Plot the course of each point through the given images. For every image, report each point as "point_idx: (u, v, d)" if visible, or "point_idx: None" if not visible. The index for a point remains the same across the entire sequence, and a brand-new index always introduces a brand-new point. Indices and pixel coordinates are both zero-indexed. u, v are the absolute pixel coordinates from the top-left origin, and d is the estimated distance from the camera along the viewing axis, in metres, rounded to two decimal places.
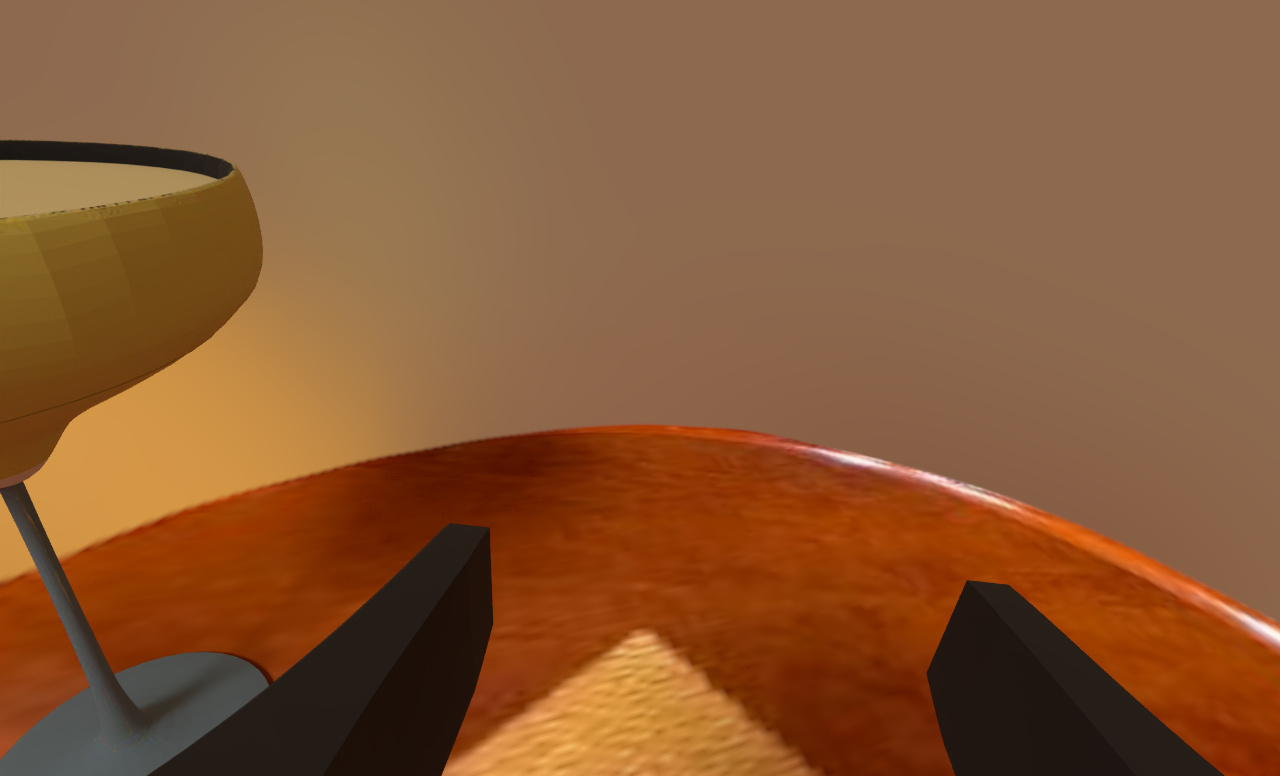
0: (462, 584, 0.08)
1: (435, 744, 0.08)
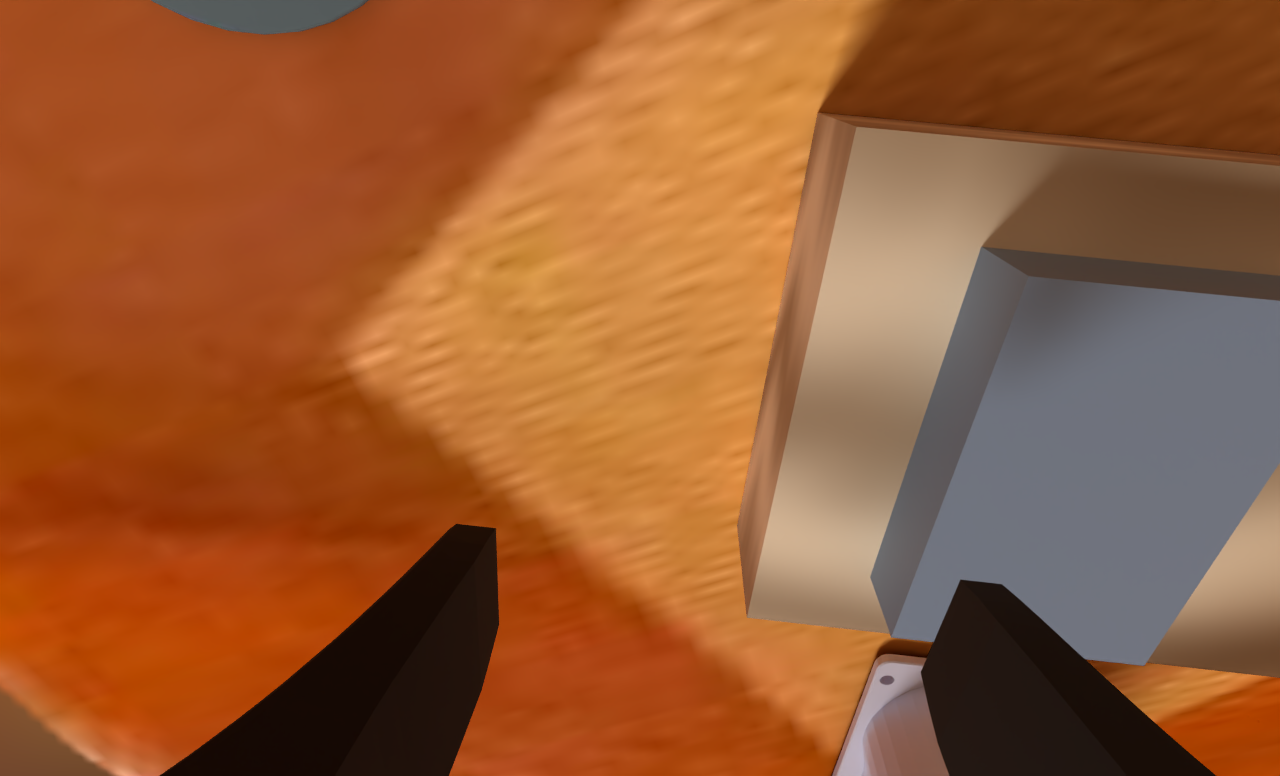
0: (470, 585, 0.08)
1: (442, 745, 0.08)
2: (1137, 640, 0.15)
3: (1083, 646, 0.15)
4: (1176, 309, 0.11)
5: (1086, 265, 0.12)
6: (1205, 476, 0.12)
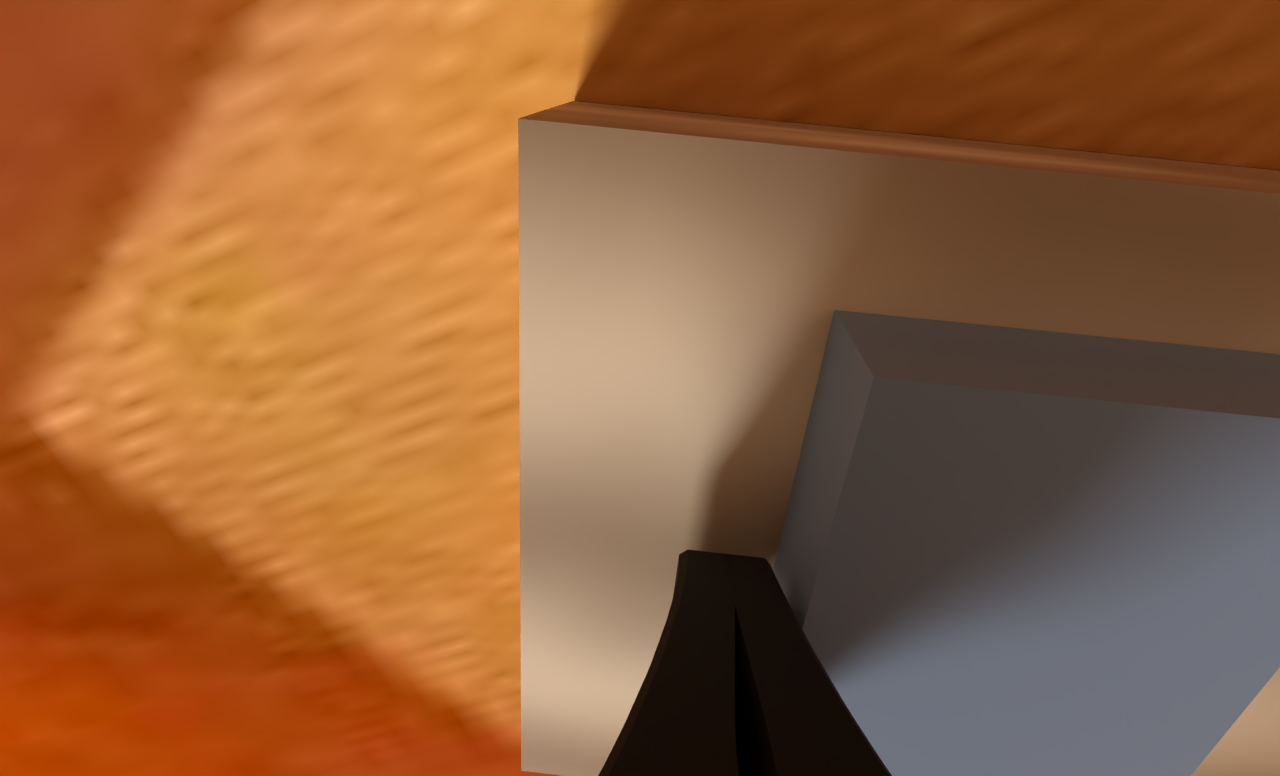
0: None
1: None
2: None
3: None
4: (1122, 430, 0.07)
5: (986, 345, 0.08)
6: (1177, 667, 0.08)
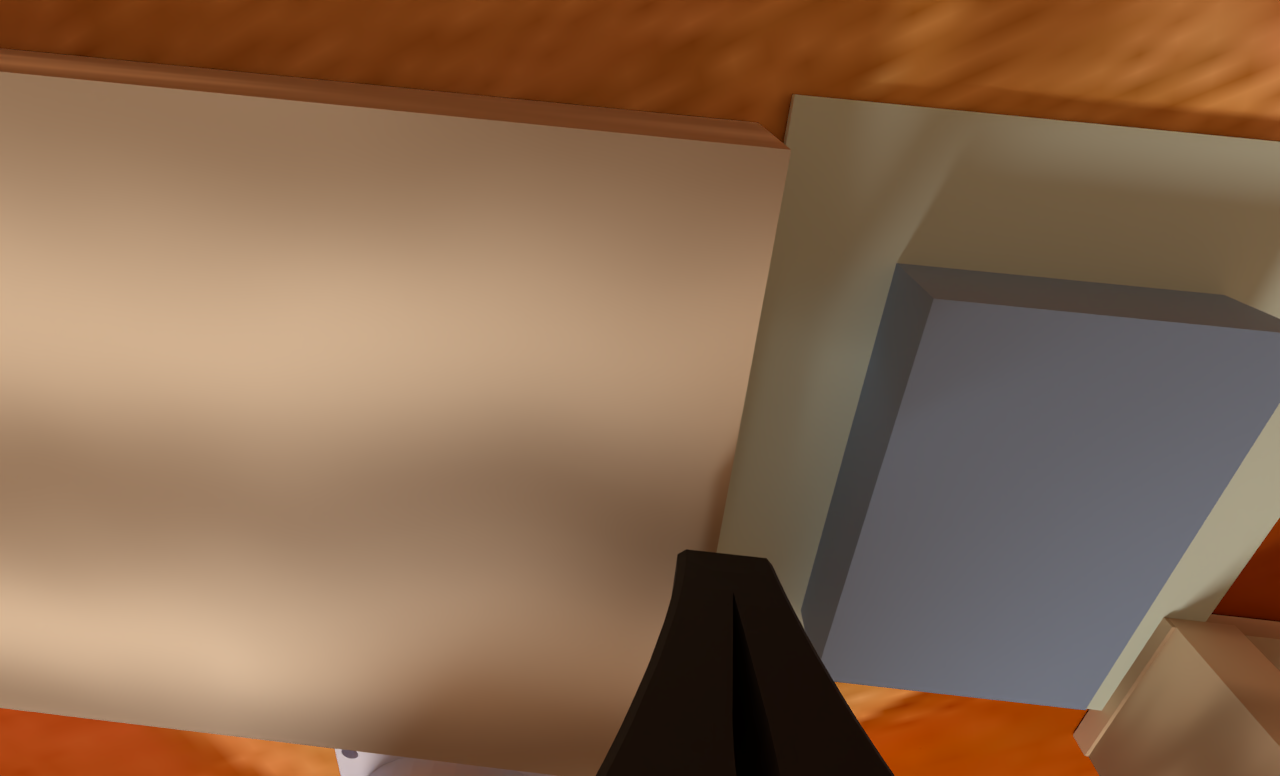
0: None
1: None
2: None
3: None
4: None
5: (1178, 309, 0.10)
6: None
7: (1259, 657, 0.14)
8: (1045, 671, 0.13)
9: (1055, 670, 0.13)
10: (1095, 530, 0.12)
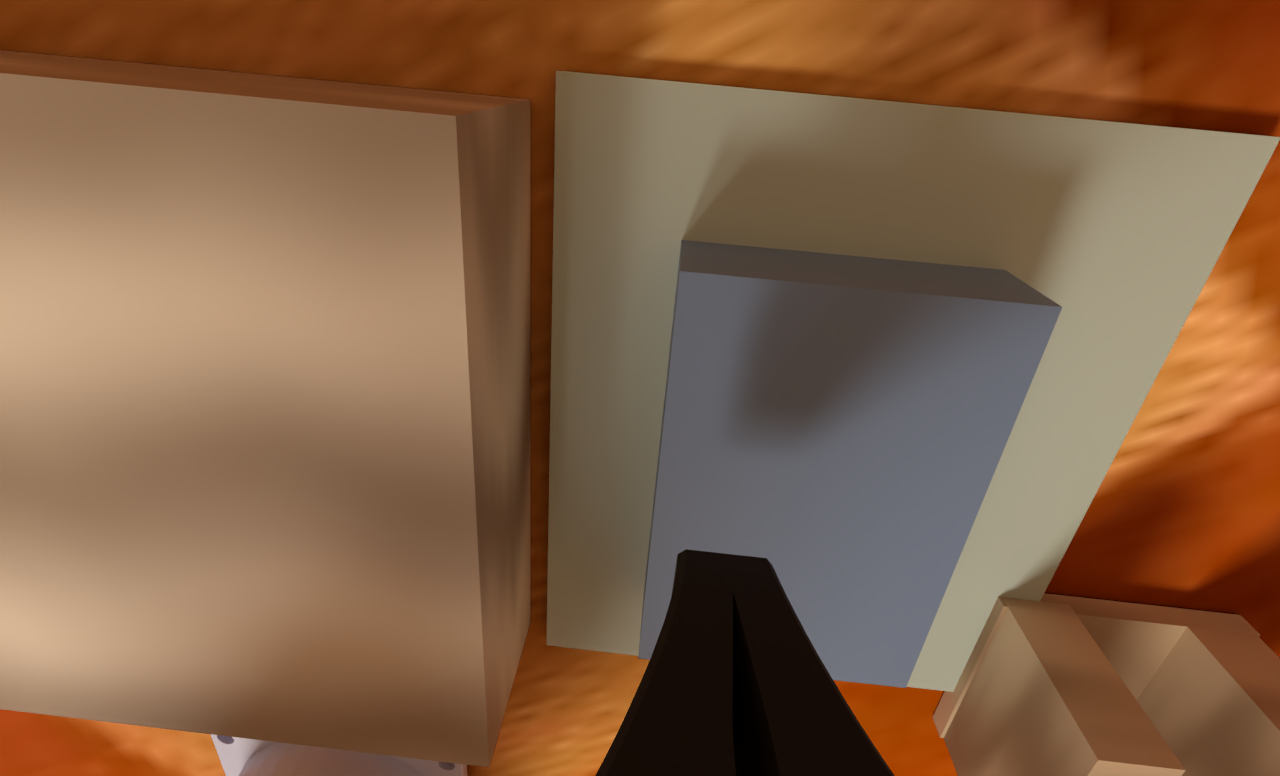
0: None
1: None
2: None
3: None
4: None
5: (936, 282, 0.10)
6: None
7: (1083, 635, 0.14)
8: (859, 648, 0.13)
9: (869, 647, 0.13)
10: (880, 505, 0.12)
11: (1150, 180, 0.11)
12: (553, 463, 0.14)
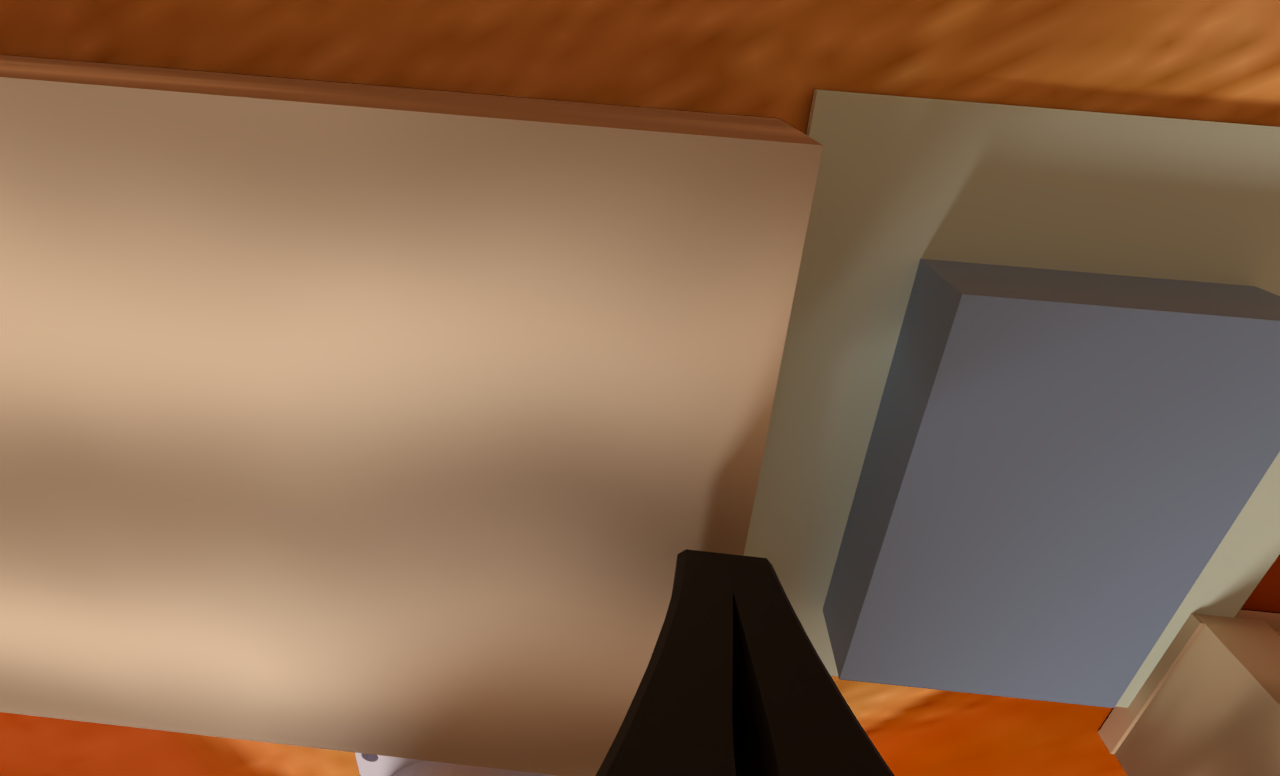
0: None
1: None
2: None
3: None
4: None
5: (1210, 301, 0.10)
6: None
7: None
8: (1073, 669, 0.13)
9: (1084, 668, 0.13)
10: (1125, 526, 0.12)
11: None
12: None
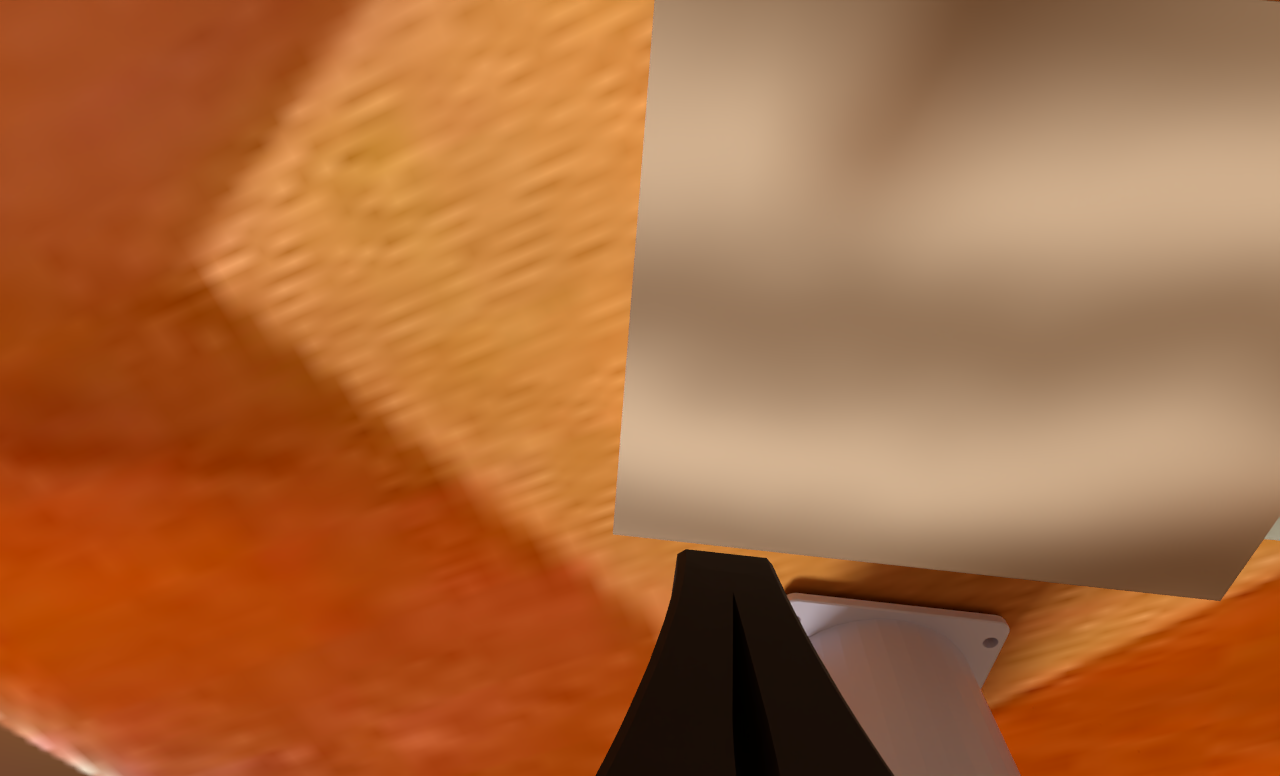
0: None
1: None
2: None
3: None
4: None
5: None
6: None
7: None
8: None
9: None
10: None
11: None
12: None
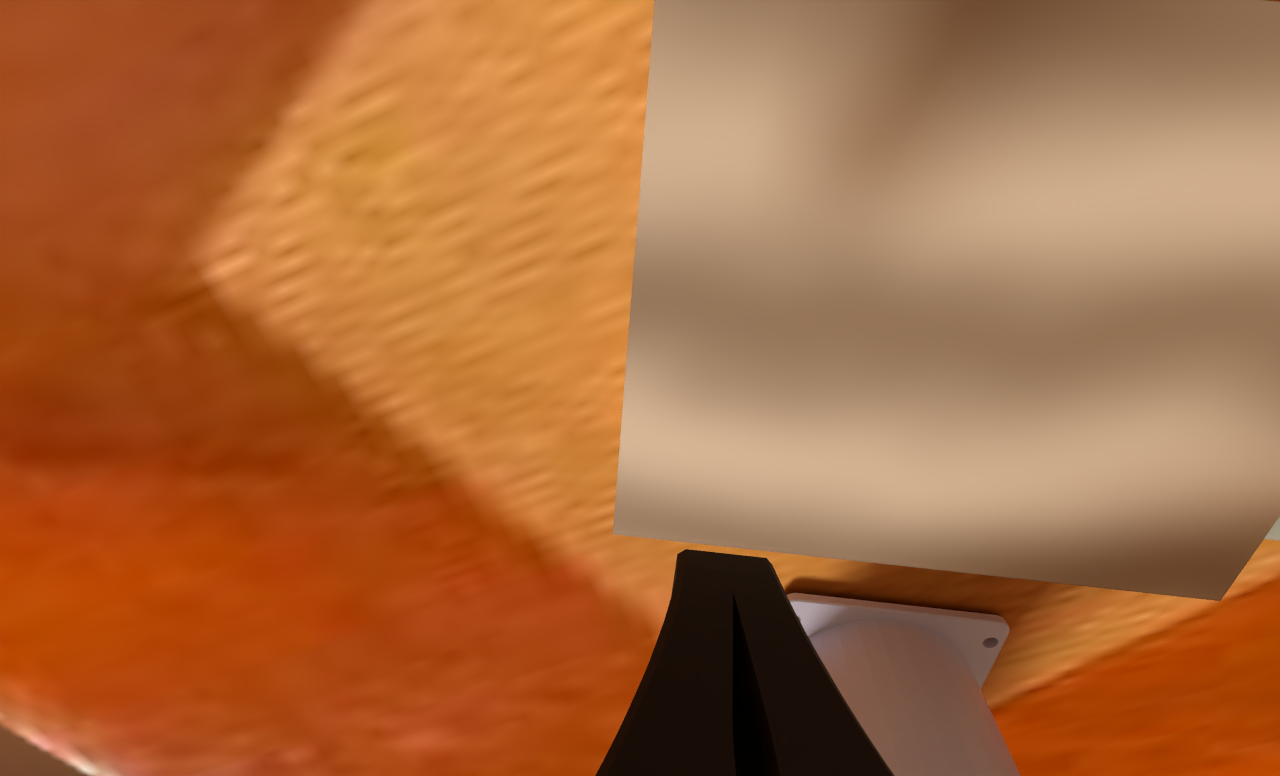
0: None
1: None
2: None
3: None
4: None
5: None
6: None
7: None
8: None
9: None
10: None
11: None
12: None
